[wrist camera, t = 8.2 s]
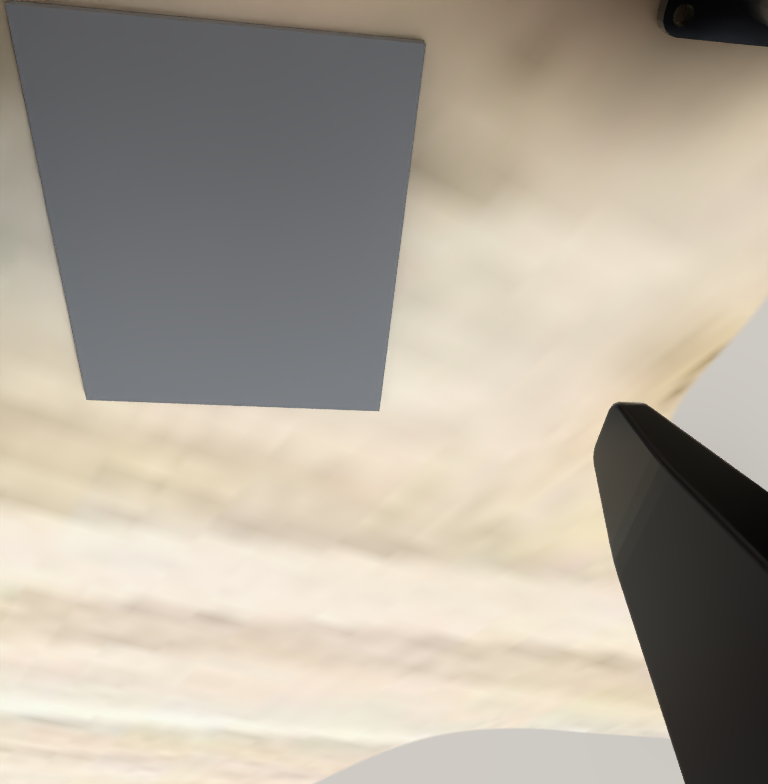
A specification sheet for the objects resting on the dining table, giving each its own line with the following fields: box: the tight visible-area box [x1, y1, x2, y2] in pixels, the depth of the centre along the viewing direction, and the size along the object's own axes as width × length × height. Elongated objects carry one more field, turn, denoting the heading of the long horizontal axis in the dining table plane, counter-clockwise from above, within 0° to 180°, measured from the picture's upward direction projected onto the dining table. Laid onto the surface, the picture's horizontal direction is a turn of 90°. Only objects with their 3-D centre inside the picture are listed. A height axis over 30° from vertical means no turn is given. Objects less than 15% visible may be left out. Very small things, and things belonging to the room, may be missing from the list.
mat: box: [5, 0, 426, 411], centre depth 21 cm, size 10×12×1 cm
